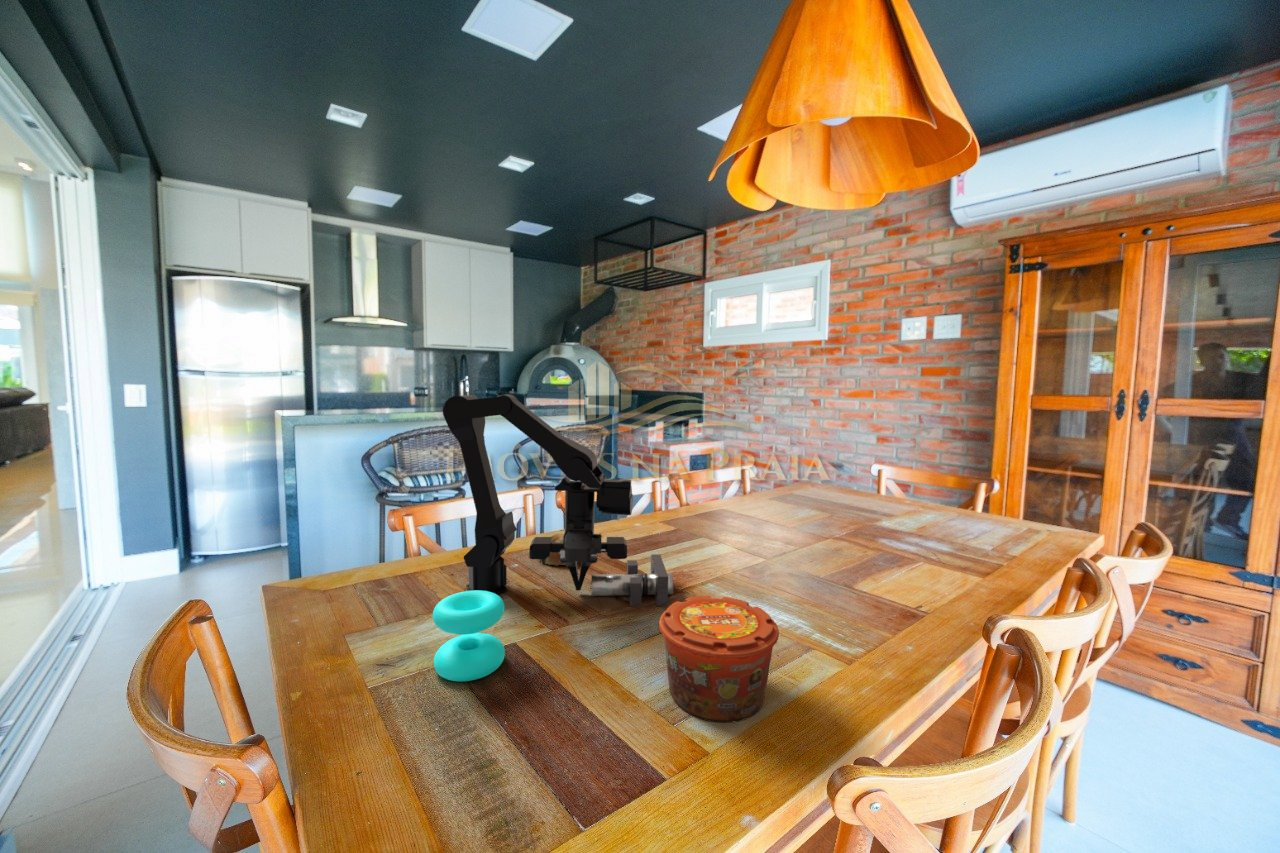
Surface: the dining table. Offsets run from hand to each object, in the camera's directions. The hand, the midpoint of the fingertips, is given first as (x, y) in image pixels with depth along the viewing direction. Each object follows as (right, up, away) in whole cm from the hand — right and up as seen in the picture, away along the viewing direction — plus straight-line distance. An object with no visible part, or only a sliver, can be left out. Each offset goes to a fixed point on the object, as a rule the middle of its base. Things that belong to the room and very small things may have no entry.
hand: (578, 589), depth 102 cm
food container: (+23, -4, -32) cm, 39 cm away
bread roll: (-7, +1, +20) cm, 21 cm away
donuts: (-13, -3, -26) cm, 29 cm away
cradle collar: (+11, -1, +1) cm, 11 cm away
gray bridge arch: (+16, -1, +1) cm, 16 cm away
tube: (+11, -1, +1) cm, 11 cm away
